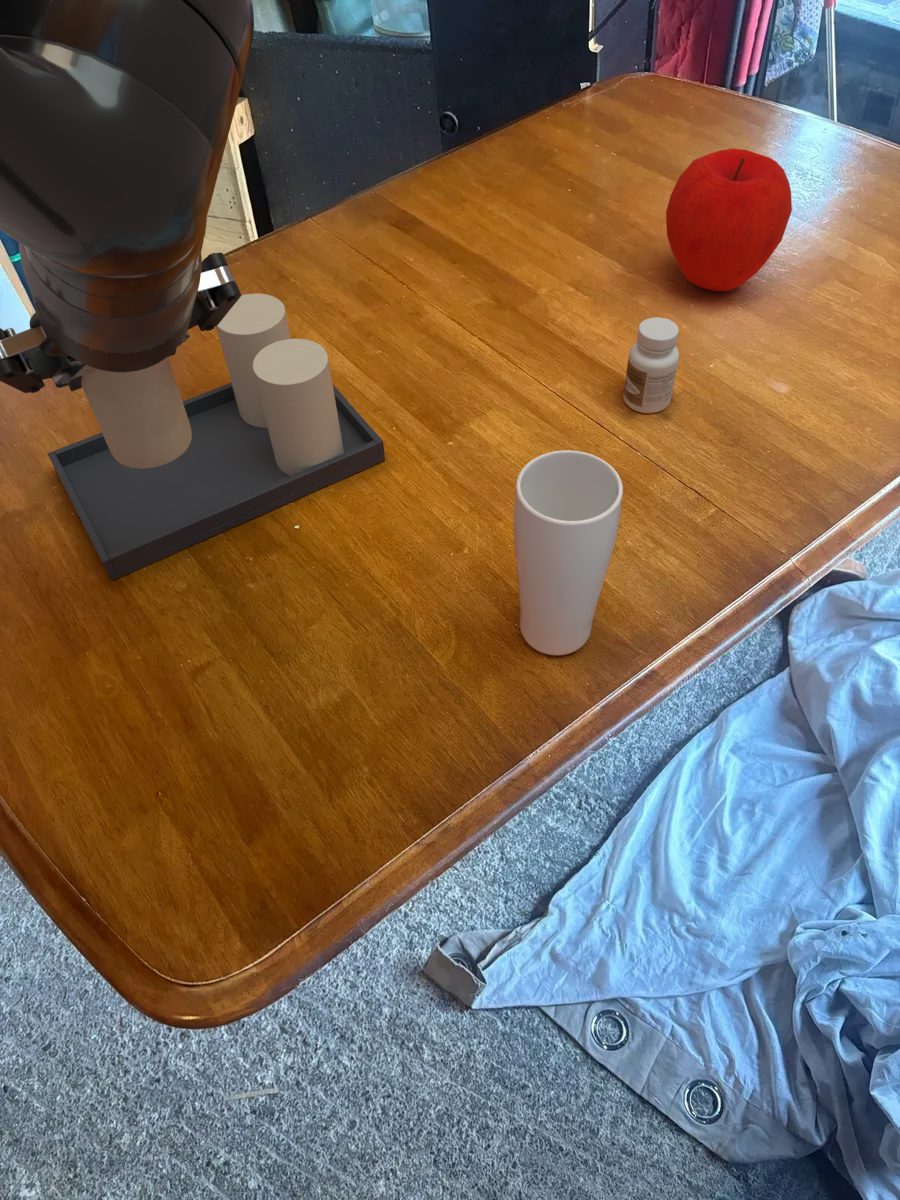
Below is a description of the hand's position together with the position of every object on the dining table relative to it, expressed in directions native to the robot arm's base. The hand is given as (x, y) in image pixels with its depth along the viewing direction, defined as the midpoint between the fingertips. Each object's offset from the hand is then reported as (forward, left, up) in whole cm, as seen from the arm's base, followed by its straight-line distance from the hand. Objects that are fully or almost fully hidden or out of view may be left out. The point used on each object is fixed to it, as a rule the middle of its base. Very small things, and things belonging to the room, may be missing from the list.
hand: (116, 357), depth 57 cm
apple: (+61, +6, -20) cm, 65 cm away
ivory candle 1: (+13, +13, -19) cm, 27 cm away
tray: (+6, +9, -20) cm, 23 cm away
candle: (0, -2, -6) cm, 6 cm away
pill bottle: (+43, -5, -20) cm, 48 cm away
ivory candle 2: (+13, +5, -19) cm, 24 cm away
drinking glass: (+20, -22, -20) cm, 36 cm away
